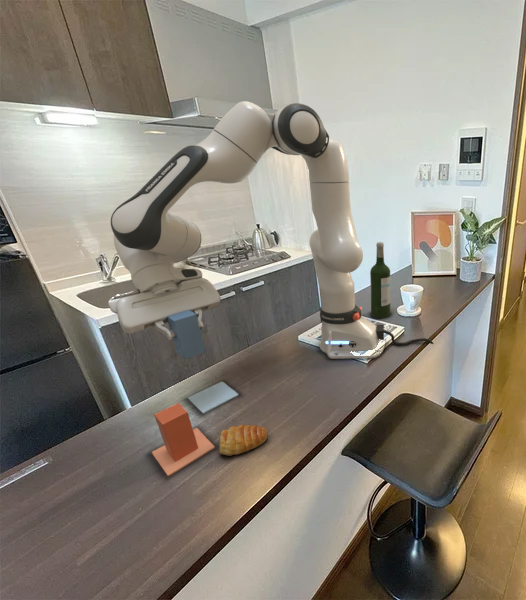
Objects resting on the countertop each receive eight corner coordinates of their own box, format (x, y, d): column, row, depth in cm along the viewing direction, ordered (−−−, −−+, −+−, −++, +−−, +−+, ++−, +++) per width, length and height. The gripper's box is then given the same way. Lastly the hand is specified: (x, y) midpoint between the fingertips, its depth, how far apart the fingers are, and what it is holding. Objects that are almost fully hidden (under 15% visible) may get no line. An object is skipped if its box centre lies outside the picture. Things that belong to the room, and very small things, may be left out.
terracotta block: (166, 450, 69) (153, 414, 66) (189, 438, 73) (178, 402, 69) (175, 462, 67) (162, 424, 63) (198, 448, 70) (187, 411, 66)
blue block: (177, 353, 78) (166, 315, 74) (197, 345, 81) (187, 309, 77) (185, 359, 75) (174, 320, 71) (205, 351, 78) (196, 314, 74)
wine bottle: (376, 309, 140) (375, 239, 128) (393, 312, 137) (393, 241, 125) (367, 316, 133) (365, 243, 122) (384, 319, 130) (384, 246, 118)
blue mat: (187, 398, 85) (187, 397, 85) (222, 382, 92) (222, 381, 92) (203, 414, 80) (202, 412, 80) (238, 395, 87) (238, 394, 87)
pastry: (267, 427, 77) (265, 414, 75) (267, 449, 71) (264, 436, 69) (223, 437, 74) (220, 424, 72) (219, 461, 68) (215, 447, 66)
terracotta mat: (151, 453, 69) (151, 452, 69) (197, 428, 76) (196, 427, 76) (168, 476, 64) (167, 475, 64) (215, 448, 71) (214, 446, 71)
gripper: (103, 290, 67) (133, 346, 66) (206, 267, 82) (233, 313, 81) (104, 304, 72) (133, 357, 70) (202, 280, 87) (227, 323, 85)
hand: (187, 333), depth 75 cm, fingers closed on blue block, 4 cm apart
